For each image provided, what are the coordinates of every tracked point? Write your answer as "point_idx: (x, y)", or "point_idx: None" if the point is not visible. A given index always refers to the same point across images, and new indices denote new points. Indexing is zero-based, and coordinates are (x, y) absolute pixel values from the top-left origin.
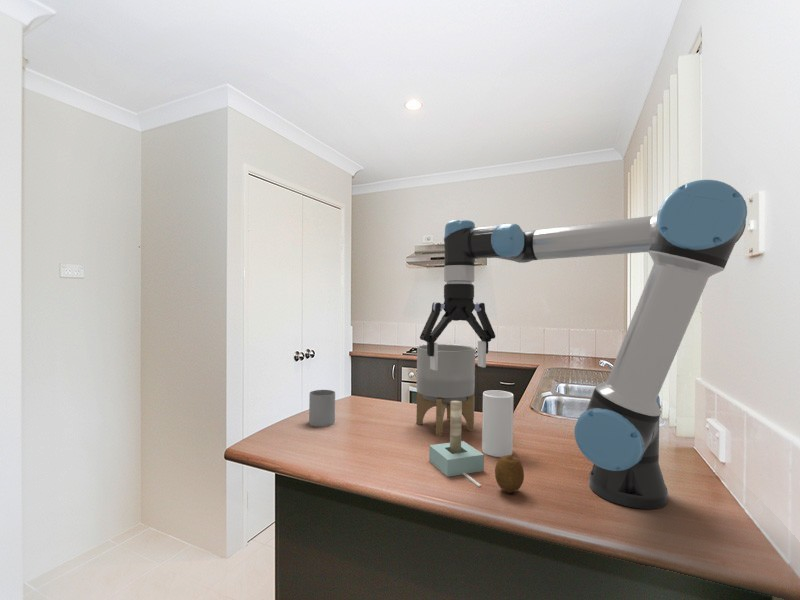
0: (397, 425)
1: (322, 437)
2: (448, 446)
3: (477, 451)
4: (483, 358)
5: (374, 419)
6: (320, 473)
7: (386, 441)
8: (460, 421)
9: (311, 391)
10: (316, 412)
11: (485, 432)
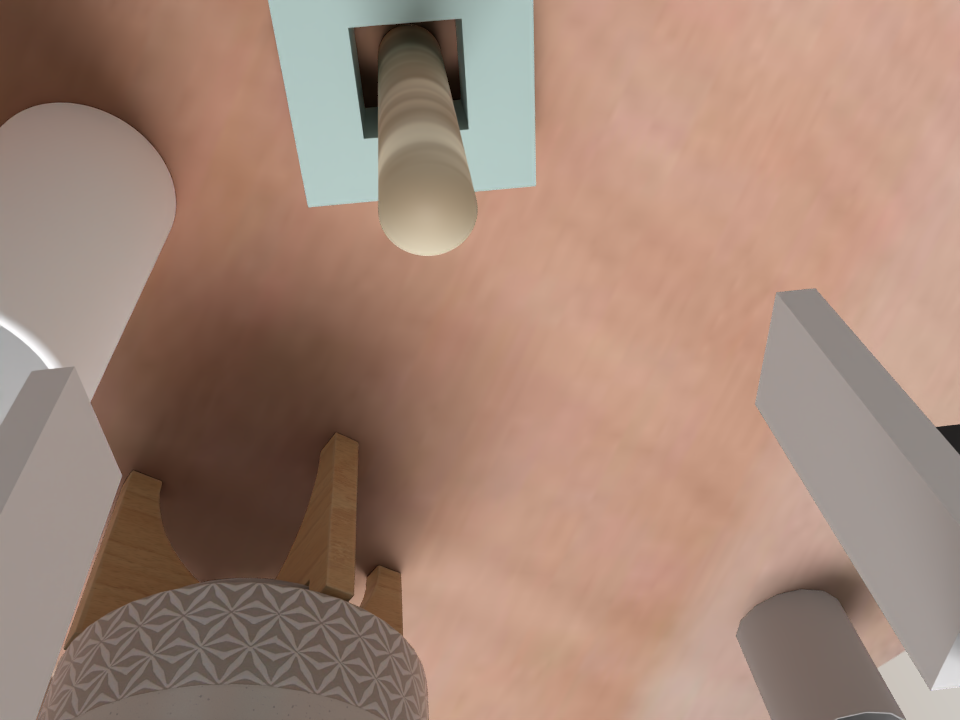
0: (495, 567)
1: None
2: None
3: (283, 17)
4: (28, 452)
5: (568, 634)
6: None
7: (623, 411)
8: (399, 115)
9: None
10: (855, 643)
11: (141, 229)
